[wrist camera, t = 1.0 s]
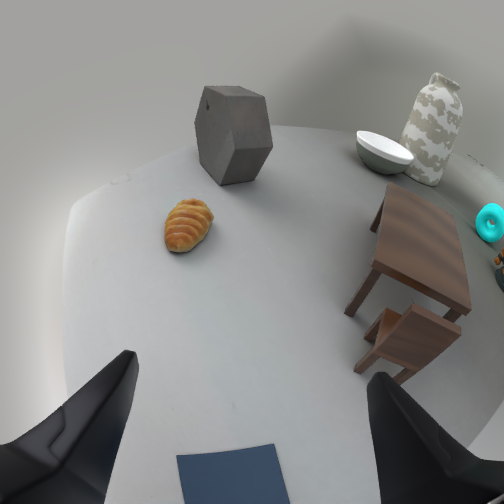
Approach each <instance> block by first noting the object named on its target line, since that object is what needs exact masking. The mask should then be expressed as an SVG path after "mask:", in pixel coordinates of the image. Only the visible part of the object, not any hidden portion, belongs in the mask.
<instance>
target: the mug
mask: <svg viewBox="0 0 504 504" xmlns="http://www.w3.org/2000/svg"><path fill="white" fill-rule="evenodd" d="M494 261H495V263H496V264H497V265H499V264H500V263H501V261H502V262H503V264H504V248H503V250H502V252H501V253H500V254H499V255H498V257H496V258H495V259H494ZM495 277H496V281H497V283H498V285H499V286H500V288H501V289H502V291H503V292H504V267H501V268H500V269H498V270H497V271H496V273H495Z"/></svg>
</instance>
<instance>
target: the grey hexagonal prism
mask: <svg viewBox="0 0 504 504" xmlns="http://www.w3.org/2000/svg"><path fill="white" fill-rule="evenodd" d="M195 130H196V137H197V144H198V151H199V157H200V164H201V165H202V166H203V167H204V169H205V170H206V171H207V172H208V173H209V174H210V176H211V177H212V178H213V179H214V180H215V181H216V182H217V184H218V185H226V184H232V183H239V182H245V181H252V180H255V178H256V176H257V174H258V173H259V171H260V169H261V167H262V166H263V164H264V162H265V160H266V158H267V157H268V155H269V153H270V151H271V150H272V148H273V143H272V137H271V131H270V125H269V119H268V113H267V107H266V102H265V97H264V96H262V95H259V94H257V93H255V92H252V91H250V90H247V89H245V88H242V87H240V86H205V87H204V90H203V93H202V97H201V101H200V104H199V108H198V111H197V115H196V119H195Z"/></svg>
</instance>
